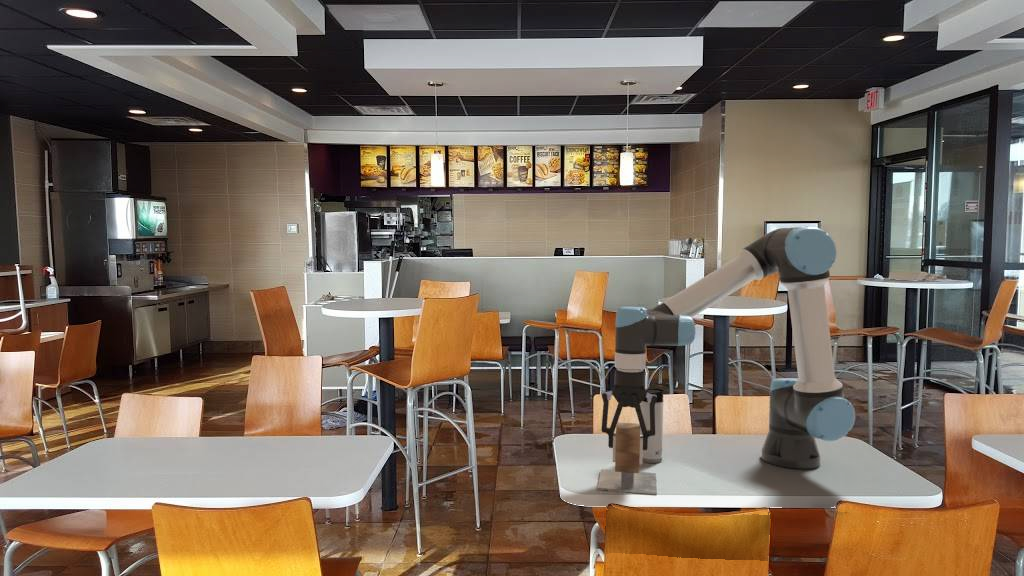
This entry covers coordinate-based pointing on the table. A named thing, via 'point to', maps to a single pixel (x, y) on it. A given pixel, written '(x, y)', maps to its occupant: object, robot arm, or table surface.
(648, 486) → the post
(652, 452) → the travel mug
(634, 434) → the tall wooden peg
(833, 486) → the table surface
